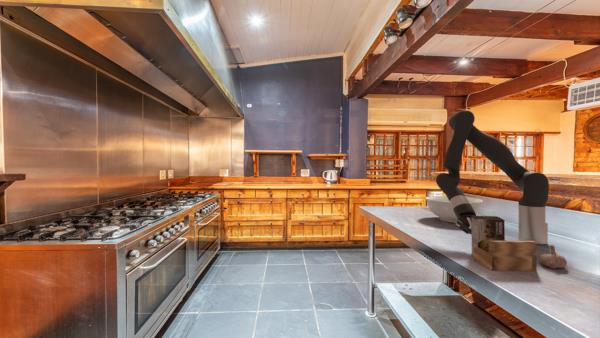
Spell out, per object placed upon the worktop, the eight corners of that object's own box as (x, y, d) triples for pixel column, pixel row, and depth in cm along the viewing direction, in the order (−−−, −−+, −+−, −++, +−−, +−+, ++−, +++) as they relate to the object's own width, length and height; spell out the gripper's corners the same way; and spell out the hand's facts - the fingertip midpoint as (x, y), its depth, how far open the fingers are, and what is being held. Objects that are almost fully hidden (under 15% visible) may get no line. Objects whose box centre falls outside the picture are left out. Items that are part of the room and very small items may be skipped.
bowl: (419, 221, 157) (419, 199, 157) (431, 213, 182) (431, 194, 181) (480, 229, 136) (480, 203, 136) (484, 219, 160) (484, 197, 160)
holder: (513, 260, 92) (513, 234, 92) (536, 270, 82) (536, 242, 82) (473, 260, 92) (473, 234, 92) (492, 270, 83) (492, 241, 83)
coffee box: (497, 255, 96) (497, 216, 96) (505, 262, 90) (505, 219, 90) (470, 253, 99) (470, 214, 99) (477, 259, 93) (477, 218, 93)
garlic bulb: (551, 270, 82) (551, 248, 82) (532, 262, 90) (532, 241, 90) (574, 271, 82) (574, 248, 82) (553, 262, 89) (553, 241, 89)
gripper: (450, 202, 108) (468, 237, 96) (480, 202, 107) (502, 238, 95) (444, 212, 113) (460, 246, 101) (472, 212, 113) (492, 246, 101)
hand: (480, 242), depth 98 cm, fingers closed
